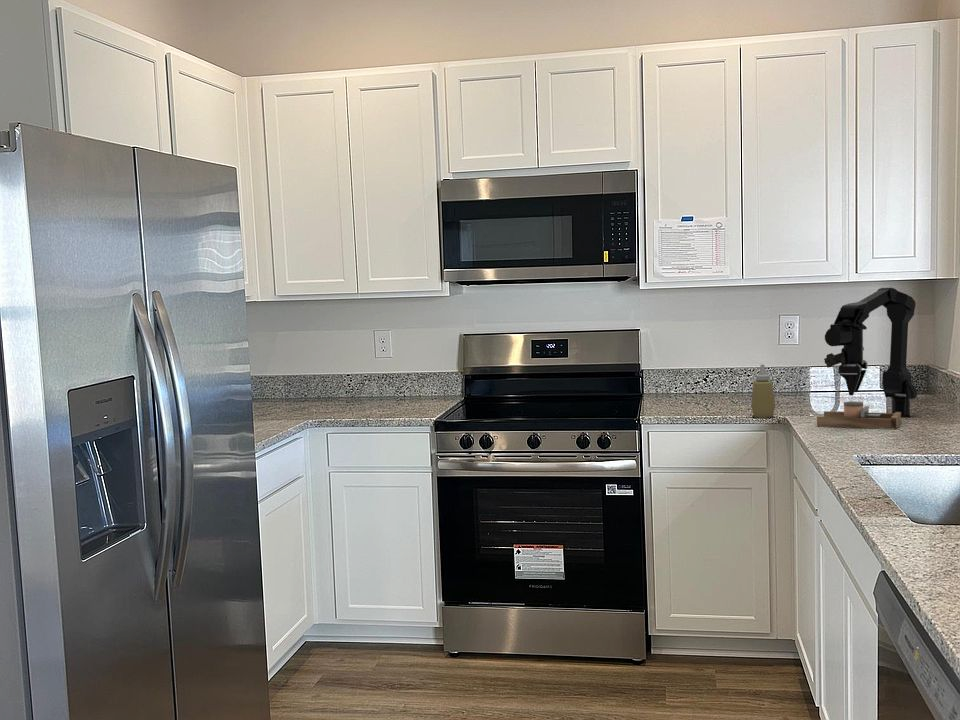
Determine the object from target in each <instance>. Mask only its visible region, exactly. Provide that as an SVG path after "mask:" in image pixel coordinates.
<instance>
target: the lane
mask: <svg viewBox="0 0 960 720" xmlns="http://www.w3.org/2000/svg"><path fill="white" fill-rule="evenodd" d="M869 414H881V418H854V417H844V411H827V410H825V411H823V416H818V415H817V416H816V427H819V426H839V427H838V428H846V427H861V428H860V429H874V428H895V429H894V430H897V429H898V428H899V427H900V425H901V424H902V417H901V412H895V413H892V412H869ZM900 423H901V424H900ZM899 424H900V425H899ZM897 427H898V428H897ZM896 428H897V429H896Z"/></svg>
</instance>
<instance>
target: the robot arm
mask: <svg viewBox="0 0 960 720" xmlns="http://www.w3.org/2000/svg"><path fill="white" fill-rule="evenodd" d="M916 305H917V304H916V301H915V300H914V298H913V297H912V296H911V295H909V294H907V293H904V292H901V291H899V290H897V289H896V288H893V287H880V288H878V289H877V291H875V292H873V293H871V294H869V295H868V296H866V297H865V298H862V299H861V300H860V301H856V302H851V303H850V302H849V303H845V304H843V305H842V306H841V307H840V309H839V311H838V313H837V316H836V318H835V320H834V322H833V323H832V324H830V326H829V327H830V328H828V329H827V330H826V332H825V334H824V341H825V343H826V344H827V345H828V346H830V347H840V346H841V348H842V349H841V351H840V353H837V354H834V353H832V352H831V353H829V354H826V358H824V359H823V360H824V364H825V365H826V368H827V369H828V368H829V369H830V368H832V367H833V366H836V365H838V364H840V365H839V366H838V369H837V371H838V372H837V374H839V376H840V377H842V378H843V379H844V380H845V383H846V388H847V392H848V395H849V396H854V394H855V393H859V392H858V391H859V390H860V387H861V384H862V383H863V379H864V377H865V375H866V374H867V373H866V372H868V371H867V369H868V362H867V361H866V360H865V359H864V351H865V347H864V336H863V335H864V330H868V327H867V326H866V325H865V324H864V322H865V321H866V320H867V319H868V318H869V317H870V313H871V312H873V311H875V310H877V309H878V308H880V307H882V306H883V307H884V308H885V309H886V316H887V317H888V318H889V321H890V322H891V323H890V324H891V329H890V331H891V333H890V350H889V351H890V354H889V367H888V368H887V370H886V371H883V372H882V381H881V385H882V388H883V394H884V397H885V398H891V403H890V404H891V406H890V407H891V411H890V412H891V413H895V412H901V418H912V416H913V413H912V412H911V399H912V400H913V399H916V398H917V397H918V390H917V388H916V387H915V385H914V384H913V383H912V375H911V373H910V371H909V369H908V368H907V360H908V359H907V355H908V334H909V333H908V330H909V323H910V322H911V320H912V319H913V317H914V315H915V308H916Z"/></svg>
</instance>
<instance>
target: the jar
mask: <svg viewBox="0 0 960 720" xmlns="http://www.w3.org/2000/svg"><path fill="white" fill-rule="evenodd" d="M863 408H864V402H863V401H855V400H854V401H852V400H851V401H843V412H844V417H854V418H861V410H862V409H863Z"/></svg>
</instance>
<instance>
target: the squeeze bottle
mask: <svg viewBox="0 0 960 720" xmlns="http://www.w3.org/2000/svg"><path fill="white" fill-rule="evenodd" d="M770 380H771V376H770V374H767V371H766V367H765V364H760V368H759V372H758V374H757V375H755V381H754V382H753V383H752V391H751V405H750V407H751V410H752V413H753V416H754V417H755V418H756V419H757V418H759V419H769V418H772V417H773V416H774V414H775V413H774V412H775V409H776V400H775V391H774V384H773V382H772V381H770Z"/></svg>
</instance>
